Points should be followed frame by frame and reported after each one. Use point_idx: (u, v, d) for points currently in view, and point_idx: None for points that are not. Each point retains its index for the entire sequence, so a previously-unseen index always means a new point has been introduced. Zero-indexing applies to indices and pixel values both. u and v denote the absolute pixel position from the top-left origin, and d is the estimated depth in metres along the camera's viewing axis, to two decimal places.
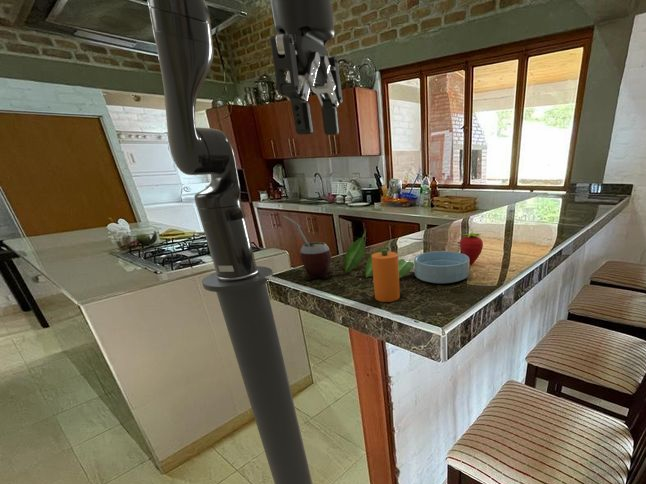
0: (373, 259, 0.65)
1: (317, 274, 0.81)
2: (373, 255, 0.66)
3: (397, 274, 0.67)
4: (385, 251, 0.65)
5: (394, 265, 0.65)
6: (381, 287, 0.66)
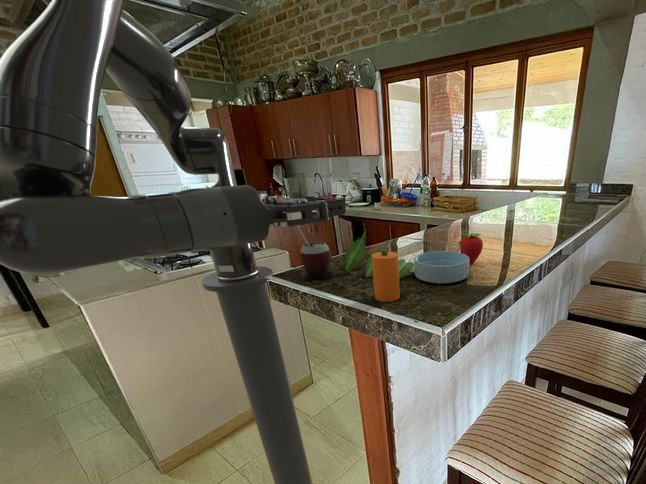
0: (373, 259, 0.65)
1: (317, 274, 0.81)
2: (373, 255, 0.66)
3: (397, 274, 0.67)
4: (385, 251, 0.65)
5: (394, 265, 0.65)
6: (381, 287, 0.66)
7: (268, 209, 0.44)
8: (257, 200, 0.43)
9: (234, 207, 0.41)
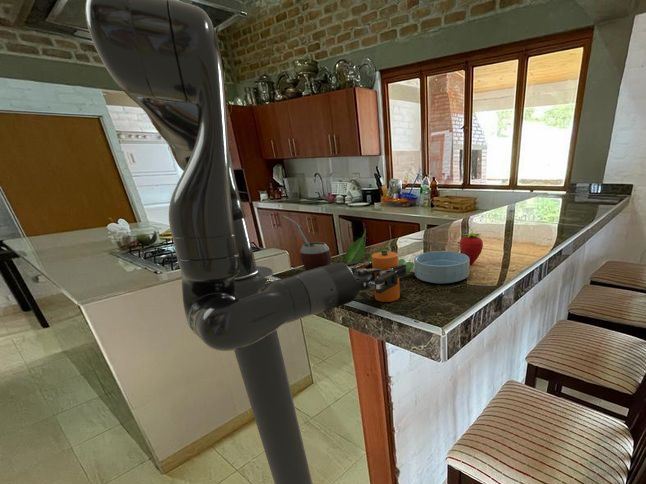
0: (373, 259, 0.65)
1: None
2: (373, 255, 0.66)
3: None
4: (385, 251, 0.65)
5: (395, 265, 0.65)
6: None
7: (358, 282, 0.58)
8: (351, 276, 0.57)
9: (337, 284, 0.56)
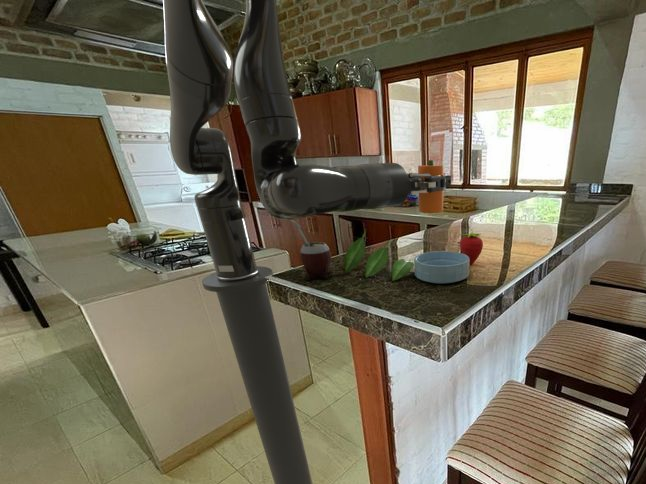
0: (420, 168, 0.67)
1: (317, 274, 0.81)
2: None
3: None
4: (432, 161, 0.67)
5: None
6: (427, 197, 0.68)
7: (410, 180, 0.60)
8: (404, 173, 0.60)
9: (393, 177, 0.58)
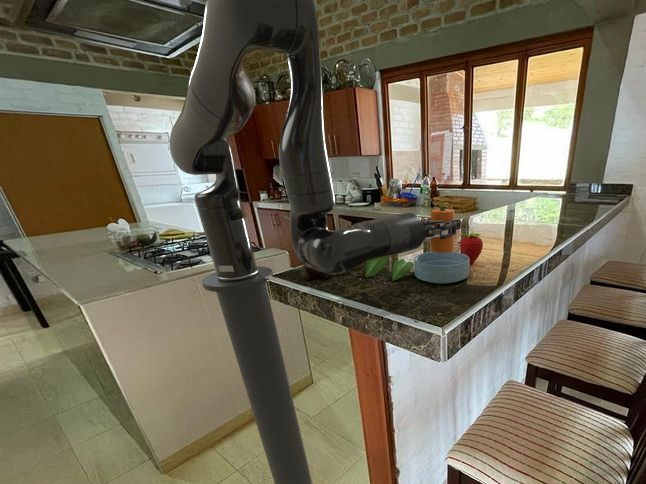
0: (433, 213, 0.73)
1: (317, 274, 0.81)
2: (432, 210, 0.74)
3: None
4: (443, 206, 0.74)
5: (452, 219, 0.74)
6: (439, 239, 0.75)
7: (425, 228, 0.67)
8: (420, 223, 0.66)
9: (410, 228, 0.64)
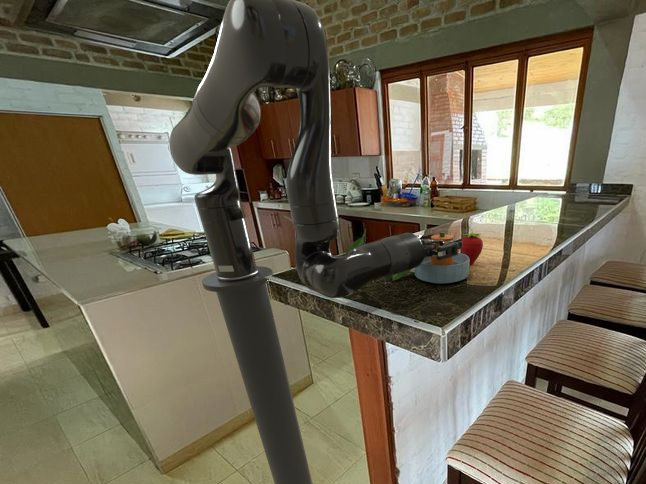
0: (433, 239, 0.76)
1: None
2: (432, 237, 0.77)
3: None
4: (443, 233, 0.76)
5: None
6: (438, 264, 0.77)
7: (425, 249, 0.69)
8: (420, 243, 0.68)
9: (410, 249, 0.66)
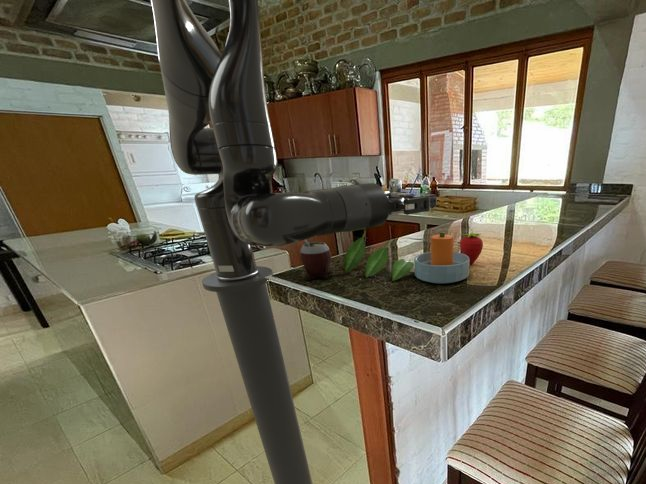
0: (433, 239, 0.76)
1: (317, 274, 0.81)
2: (432, 237, 0.77)
3: (452, 253, 0.78)
4: (443, 233, 0.76)
5: (451, 245, 0.76)
6: (438, 264, 0.77)
7: (390, 201, 0.59)
8: (384, 194, 0.58)
9: (371, 199, 0.56)
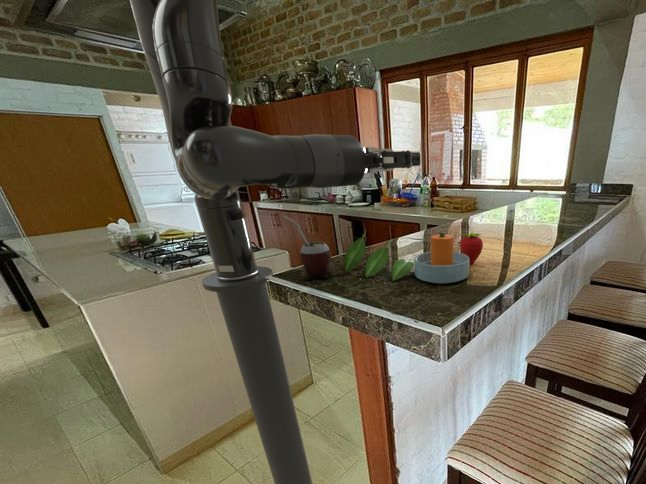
0: (433, 239, 0.76)
1: (317, 274, 0.81)
2: (432, 237, 0.77)
3: (452, 253, 0.78)
4: (443, 233, 0.76)
5: (451, 245, 0.76)
6: (438, 264, 0.77)
7: (366, 155, 0.53)
8: (359, 146, 0.52)
9: (344, 150, 0.50)
